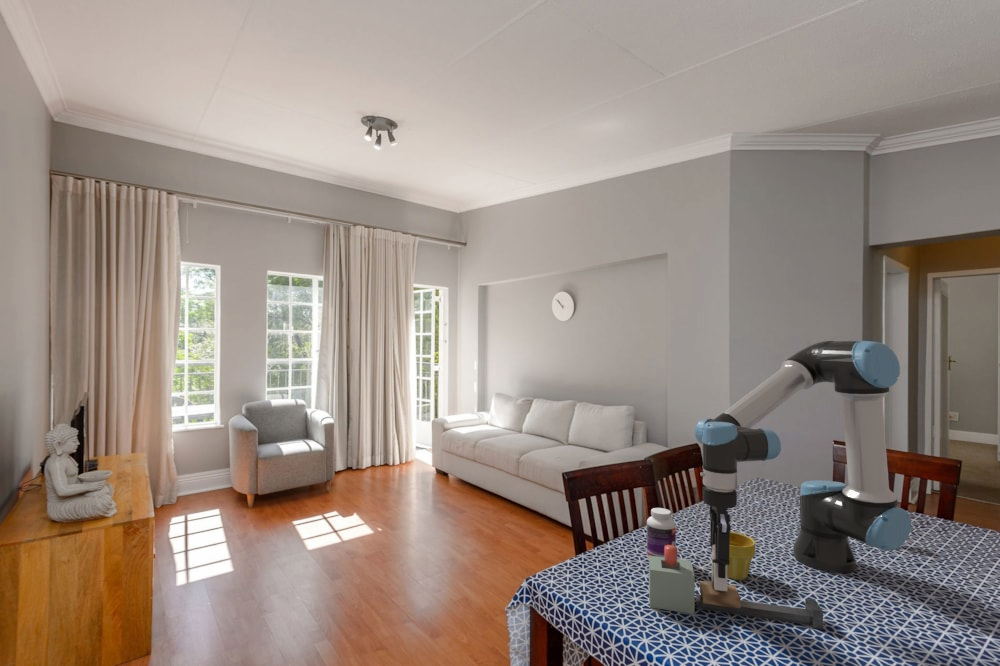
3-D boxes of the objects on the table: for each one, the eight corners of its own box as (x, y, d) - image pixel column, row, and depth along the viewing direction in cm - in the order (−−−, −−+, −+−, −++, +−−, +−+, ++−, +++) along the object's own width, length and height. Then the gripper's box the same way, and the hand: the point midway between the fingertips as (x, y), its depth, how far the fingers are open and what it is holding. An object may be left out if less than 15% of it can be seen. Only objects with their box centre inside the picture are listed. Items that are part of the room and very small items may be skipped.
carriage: (735, 595, 118) (735, 544, 118) (740, 608, 112) (740, 554, 112) (699, 590, 120) (699, 540, 120) (703, 603, 114) (703, 550, 114)
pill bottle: (677, 568, 136) (677, 517, 137) (648, 565, 138) (648, 514, 138) (673, 555, 144) (673, 507, 144) (645, 553, 146) (645, 505, 146)
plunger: (676, 561, 120) (676, 545, 120) (677, 567, 117) (677, 550, 117) (664, 560, 121) (664, 544, 121) (664, 565, 118) (664, 549, 118)
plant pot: (758, 586, 127) (758, 549, 127) (715, 579, 130) (715, 543, 130) (752, 569, 136) (752, 534, 136) (712, 562, 140) (712, 528, 140)
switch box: (690, 596, 121) (690, 560, 121) (694, 613, 114) (694, 575, 114) (648, 590, 124) (649, 555, 124) (649, 607, 116) (650, 569, 116)
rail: (814, 617, 113) (814, 599, 113) (823, 629, 108) (823, 611, 108) (695, 600, 120) (695, 584, 120) (698, 611, 115) (698, 594, 115)
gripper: (698, 476, 125) (698, 568, 125) (707, 496, 109) (707, 601, 109) (729, 479, 123) (729, 572, 123) (744, 499, 107) (744, 606, 107)
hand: (719, 585), depth 116 cm, fingers open, 3 cm apart
